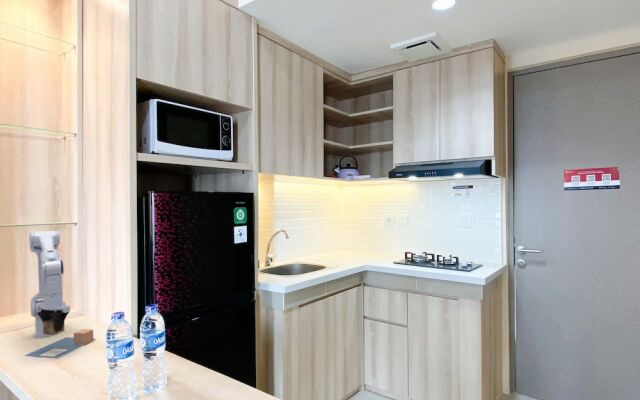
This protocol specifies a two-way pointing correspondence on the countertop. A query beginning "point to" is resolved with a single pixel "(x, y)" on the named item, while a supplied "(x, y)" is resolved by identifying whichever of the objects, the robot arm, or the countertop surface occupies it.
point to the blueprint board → (56, 349)
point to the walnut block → (50, 327)
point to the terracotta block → (83, 337)
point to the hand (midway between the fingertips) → (53, 330)
